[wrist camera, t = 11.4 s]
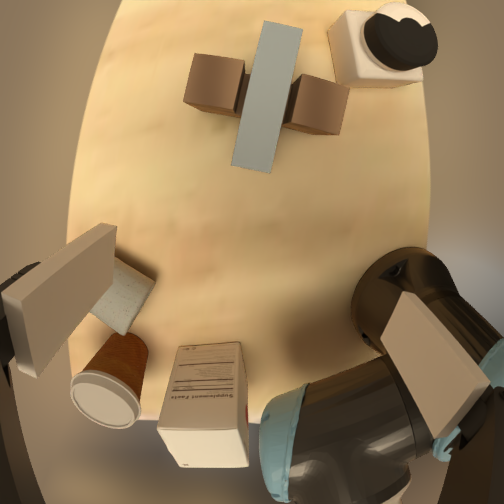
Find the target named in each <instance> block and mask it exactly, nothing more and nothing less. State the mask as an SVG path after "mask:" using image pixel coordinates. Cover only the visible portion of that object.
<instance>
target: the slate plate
mask: <svg viewBox="0 0 504 504" xmlns="http://www.w3.org/2000/svg"><path fill="white" fill-rule="evenodd" d="M302 32H303V29H300V28H296V27H292V26H287V25H283V24H279V23H274V22H269V21H264V23H263V27H262V31H261V35H260V39H259V43H258V47H257V51H256V55H255V60H254V64H253V68H252V72H251V76H250V81H249V85H248V89H247V94H246V98H245V103H244V107H243V112H242V116H241V121H240V125H239V130H238V135H237V139H236V144H235V149H234V153H233V158H232V163H231V166H236V167H241V168H246V169H251V170H256V171H261V172H266V173H271V168H272V164H273V159H274V155H275V151H276V146H277V142H278V137H279V133H280V129H281V124H282V120H283V115H284V111H285V106H286V102H287V98H288V93H289V89H290V84H291V80H292V76H293V71H294V67H295V62H296V58H297V54H298V49H299V45H300V40H301V36H302Z"/></svg>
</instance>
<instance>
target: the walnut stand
mask: <svg viewBox="0 0 504 504" xmlns="http://www.w3.org/2000/svg"><path fill="white" fill-rule="evenodd" d="M250 76H251V75H250V74H245V62H244V60H239V59H233V58H227V57H220V56H213V55H206V54H197V53H195V54H194V57H193V61H192V65H191V69H190V73H189V78H188V82H187V86H186V90H185V95H184V99H183V102H185V103H187V104H189V105H191V106H193V107H195V108H197V109H199V110H201V111H204V112H210V113H216V114H222V115H228V116H233V117H238V118H241V116H242V112H243V107H244V103H245V98H246V94H247V89H248V85H249V81H250ZM349 90H350V88H349V87H346V86H343V85H340V84H337V83H333V82H330V81H327V80H324V79H320V78H317V77H313V76H310V75H306V74H302V75H301V76H300V77H299V78H298V79H297V80H296V81H295V82H294V83H293V84H290V89H289V93H288V98H287V102H286V106H285V111H284V115H283V120H282V124H281V127H285V128H289V129H293V130H297V131H301V132H304V133H308V134H312V135H339V134H340V129H341V125H342V121H343V117H344V112H345V108H346V103H347V99H348V94H349Z"/></svg>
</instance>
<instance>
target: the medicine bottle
mask: <svg viewBox="0 0 504 504" xmlns="http://www.w3.org/2000/svg"><path fill="white" fill-rule="evenodd" d="M327 33H328V38H329V43H330V48H331V53H332V58H333V64H334V70H335V76H336V82H337V84H340V85H343V86H346V87H349V88H395V87H399V86H403V85H408V84H412V83H417V82H421V81H423V73H422V66H425V65H427V64H429V63H431V62H432V61H433V59H434V58H435V56H436V54H437V49H438V42H437V37H436V33H435V31H434V28H433V26H432V25H431V23H430V22H429V21H428V19H427V18H426V17H425V16H424V15H423V14H422V13H421V12H419V11H418V10H416V9H415V8H413V7H412V6H409V5H407V4H404V3H400V2H390V3H387V4H384V5H383V6H381V7H380V8H379V9H378V10H376V11H375V12H369V11H357V10H346V11H345V12H344V13H343V14H342V15H341V16H340V17H339V18H338V20H337V21H336V22H335V23H334V24H333V25H332V26H331V28H330V29H329V30H328V32H327Z"/></svg>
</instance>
